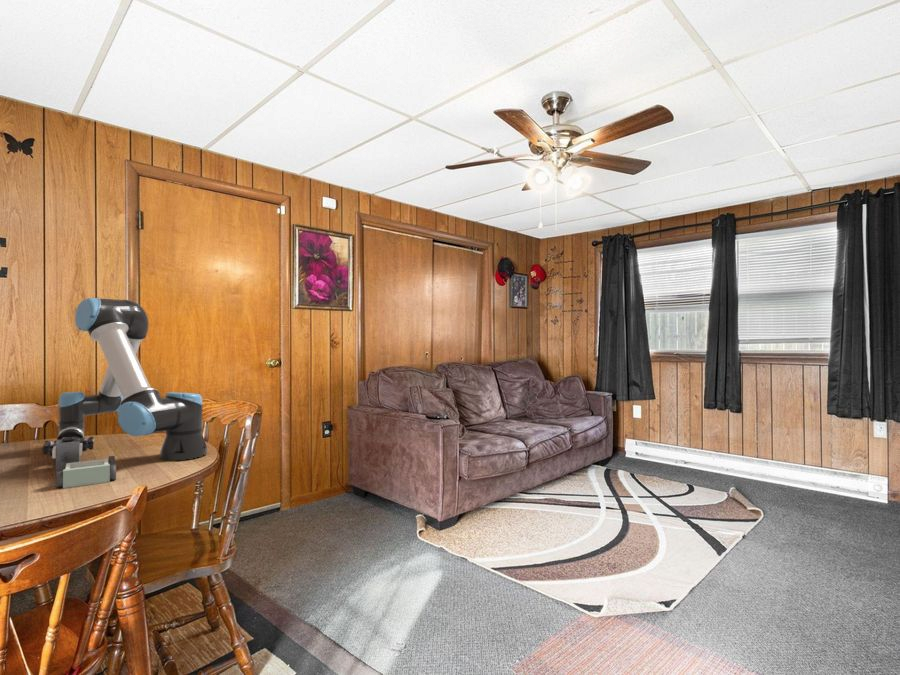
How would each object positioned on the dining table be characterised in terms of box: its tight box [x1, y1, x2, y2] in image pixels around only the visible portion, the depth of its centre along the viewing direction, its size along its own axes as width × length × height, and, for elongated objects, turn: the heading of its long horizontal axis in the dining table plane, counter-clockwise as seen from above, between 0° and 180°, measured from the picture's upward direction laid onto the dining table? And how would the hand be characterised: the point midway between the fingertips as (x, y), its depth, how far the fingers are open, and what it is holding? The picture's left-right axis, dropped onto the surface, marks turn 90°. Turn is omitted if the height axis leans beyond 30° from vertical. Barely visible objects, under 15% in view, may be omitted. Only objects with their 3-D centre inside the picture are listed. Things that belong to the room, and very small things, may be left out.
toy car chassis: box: [55, 455, 117, 489], centre depth 150 cm, size 17×14×5 cm
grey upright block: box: [55, 436, 81, 472], centre depth 160 cm, size 6×6×10 cm
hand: (67, 452), depth 155 cm, fingers closed on grey upright block, 6 cm apart
